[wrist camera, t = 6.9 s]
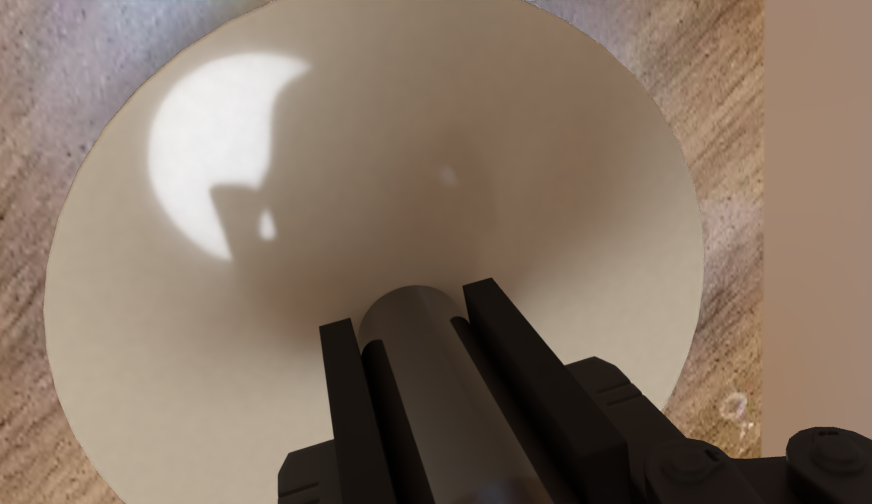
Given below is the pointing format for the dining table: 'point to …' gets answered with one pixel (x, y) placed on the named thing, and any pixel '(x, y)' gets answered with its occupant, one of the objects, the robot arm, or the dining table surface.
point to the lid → (364, 246)
